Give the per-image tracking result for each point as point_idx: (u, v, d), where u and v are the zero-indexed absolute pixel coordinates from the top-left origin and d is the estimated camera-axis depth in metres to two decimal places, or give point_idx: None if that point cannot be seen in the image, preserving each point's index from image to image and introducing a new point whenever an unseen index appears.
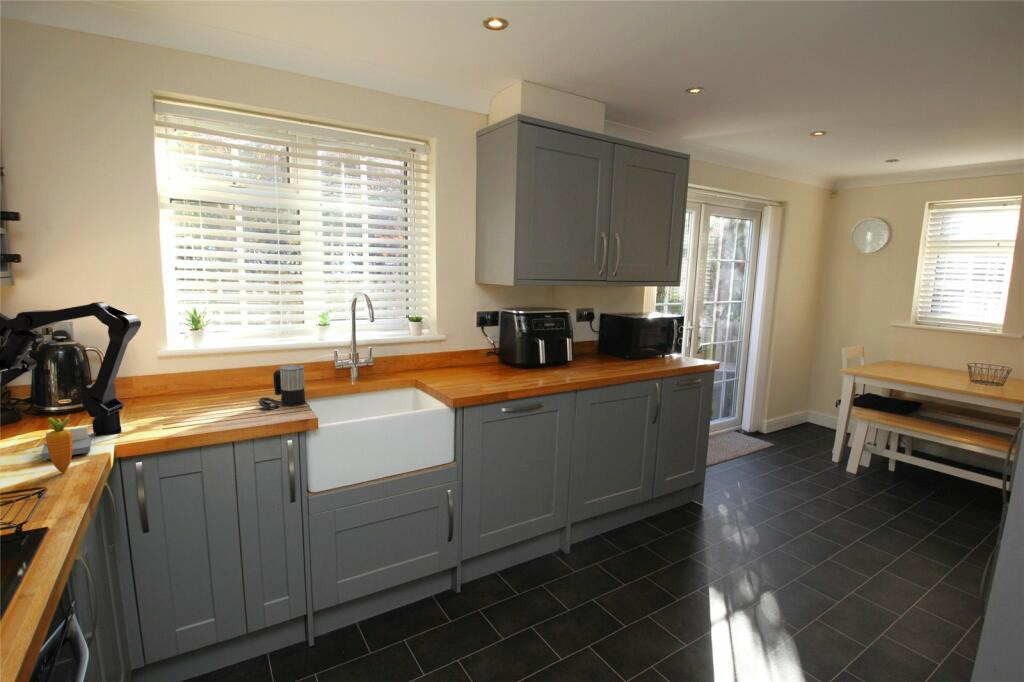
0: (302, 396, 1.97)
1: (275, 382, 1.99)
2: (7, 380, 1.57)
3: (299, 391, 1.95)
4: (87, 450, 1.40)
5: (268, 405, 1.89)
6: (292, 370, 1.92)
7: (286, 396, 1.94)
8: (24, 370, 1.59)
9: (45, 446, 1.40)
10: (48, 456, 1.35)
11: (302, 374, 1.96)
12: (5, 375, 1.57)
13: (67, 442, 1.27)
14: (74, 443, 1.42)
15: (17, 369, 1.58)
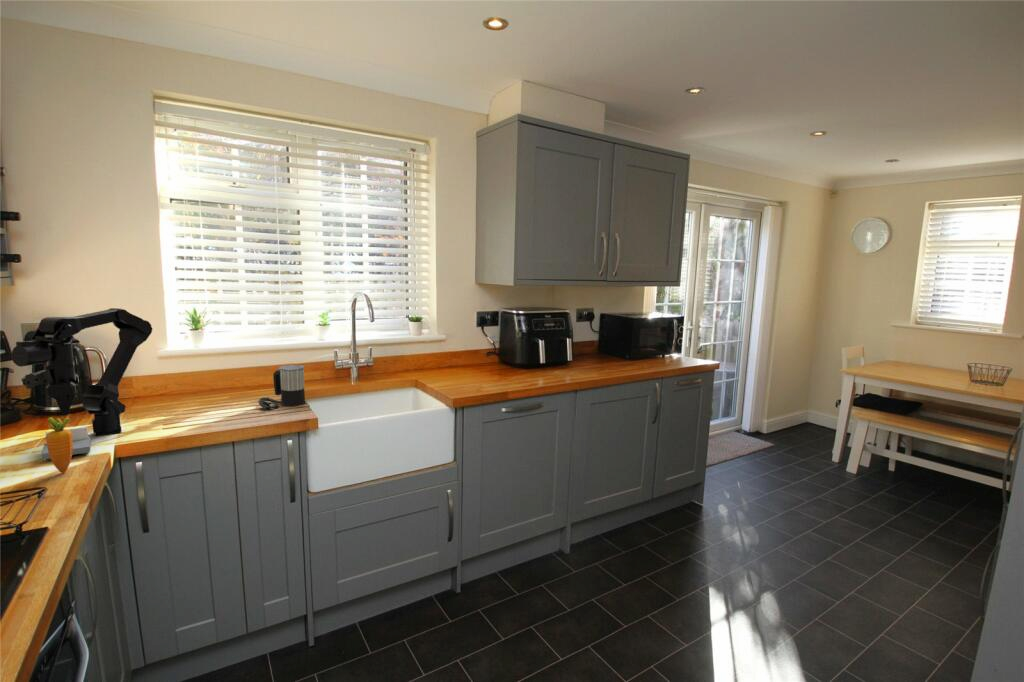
0: (302, 396, 1.97)
1: (275, 382, 1.99)
2: None
3: (299, 391, 1.95)
4: (87, 450, 1.40)
5: (268, 405, 1.88)
6: (292, 370, 1.92)
7: (286, 396, 1.93)
8: (75, 385, 1.51)
9: (45, 446, 1.40)
10: (48, 456, 1.35)
11: (302, 374, 1.96)
12: None
13: (67, 442, 1.27)
14: (74, 443, 1.42)
15: None
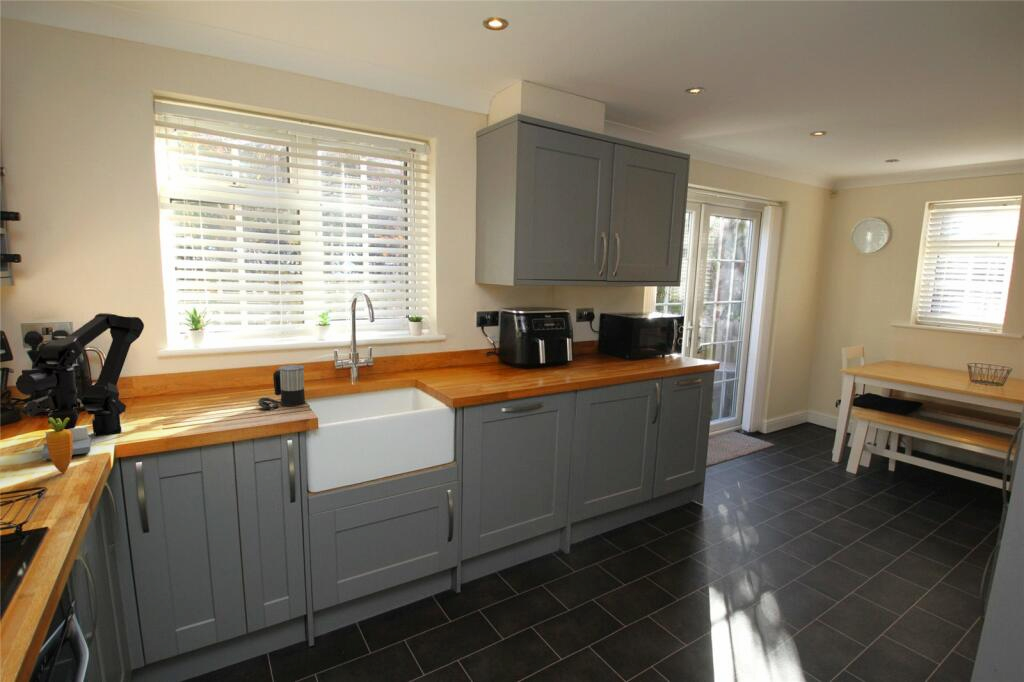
0: (302, 396, 1.96)
1: (275, 382, 1.99)
2: None
3: (299, 391, 1.95)
4: (87, 450, 1.40)
5: (267, 405, 1.88)
6: (292, 370, 1.92)
7: (285, 396, 1.93)
8: None
9: (45, 446, 1.40)
10: (48, 456, 1.35)
11: (302, 374, 1.96)
12: None
13: (67, 442, 1.27)
14: (74, 443, 1.42)
15: None
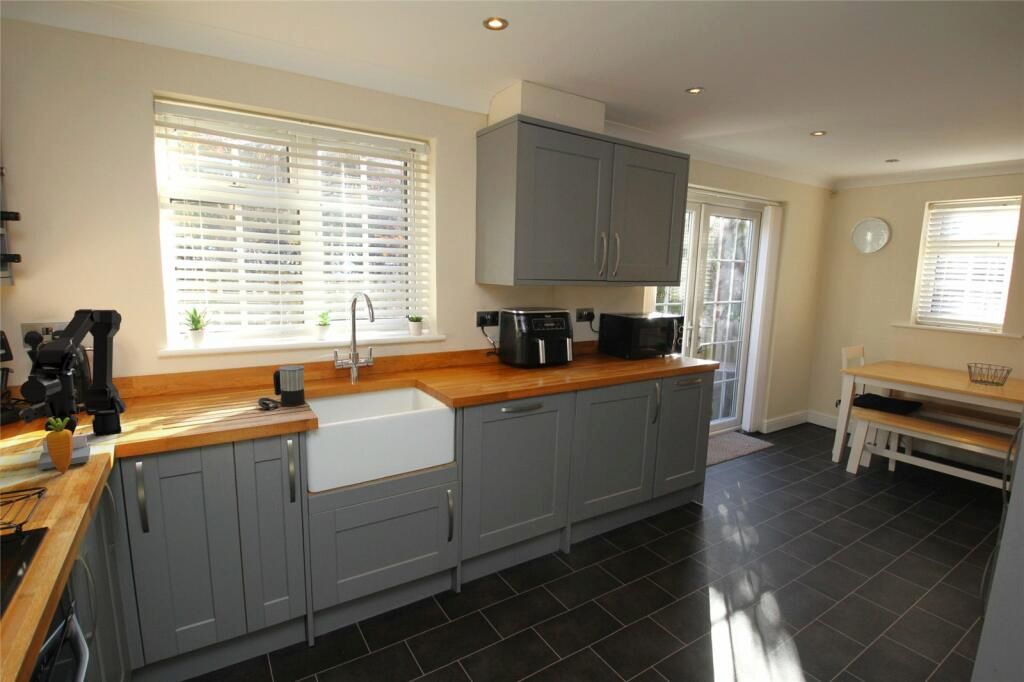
0: (302, 396, 1.96)
1: (275, 382, 1.99)
2: None
3: (298, 391, 1.95)
4: (86, 459, 1.34)
5: (267, 405, 1.88)
6: (291, 370, 1.92)
7: (285, 396, 1.93)
8: None
9: (42, 455, 1.33)
10: (45, 466, 1.29)
11: (302, 374, 1.96)
12: None
13: (67, 442, 1.27)
14: (72, 452, 1.36)
15: None
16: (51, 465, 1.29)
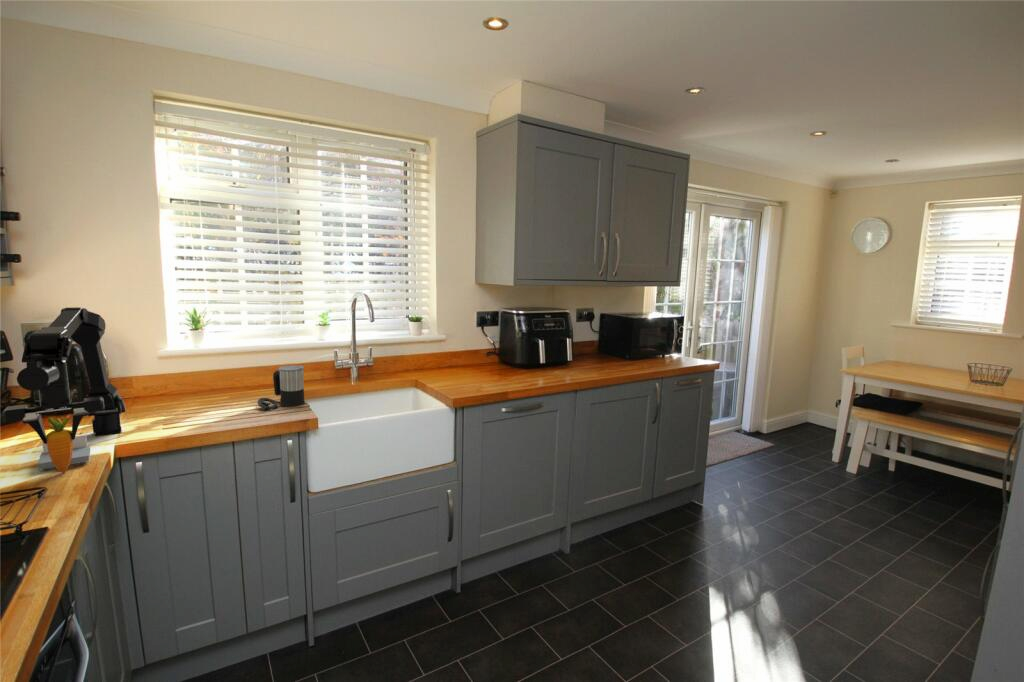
0: (301, 397, 1.96)
1: (275, 382, 1.98)
2: (72, 431, 1.28)
3: (298, 392, 1.94)
4: (86, 459, 1.34)
5: (267, 406, 1.88)
6: (291, 371, 1.92)
7: (285, 396, 1.93)
8: (77, 414, 1.27)
9: (42, 455, 1.33)
10: (45, 466, 1.29)
11: (301, 375, 1.95)
12: None
13: (67, 442, 1.27)
14: (72, 452, 1.36)
15: (73, 414, 1.28)
16: (51, 465, 1.29)
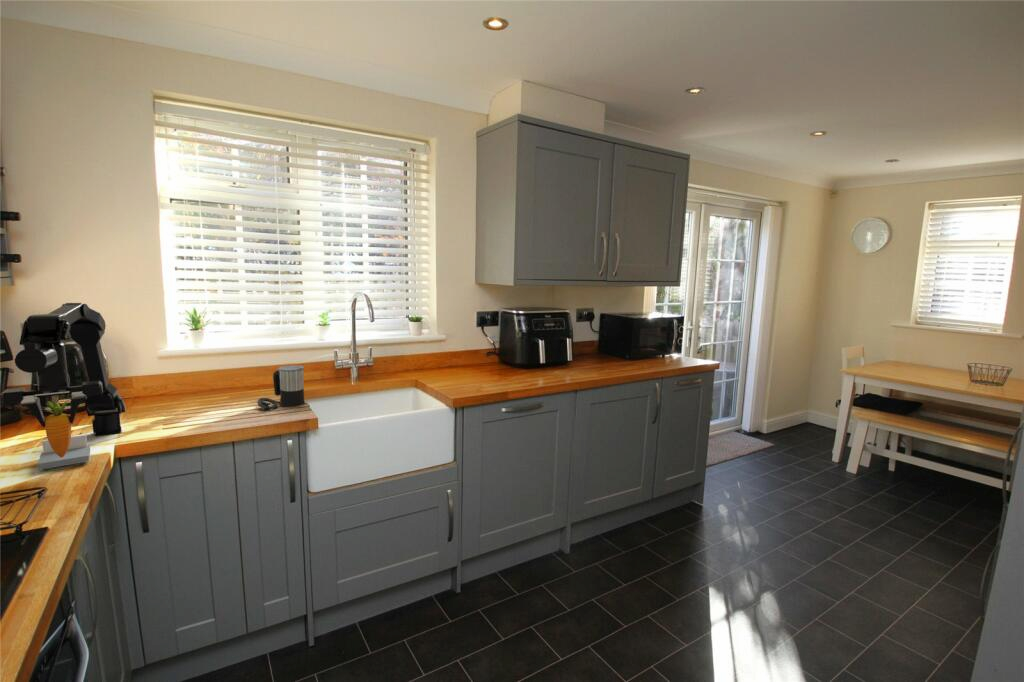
0: (301, 397, 1.96)
1: (275, 382, 1.98)
2: (70, 414, 1.28)
3: (298, 392, 1.94)
4: (86, 459, 1.34)
5: (266, 406, 1.88)
6: (291, 371, 1.91)
7: (285, 396, 1.93)
8: (75, 398, 1.26)
9: (42, 455, 1.33)
10: (45, 466, 1.29)
11: (301, 375, 1.95)
12: None
13: (65, 426, 1.26)
14: (72, 452, 1.36)
15: None
16: (51, 465, 1.29)
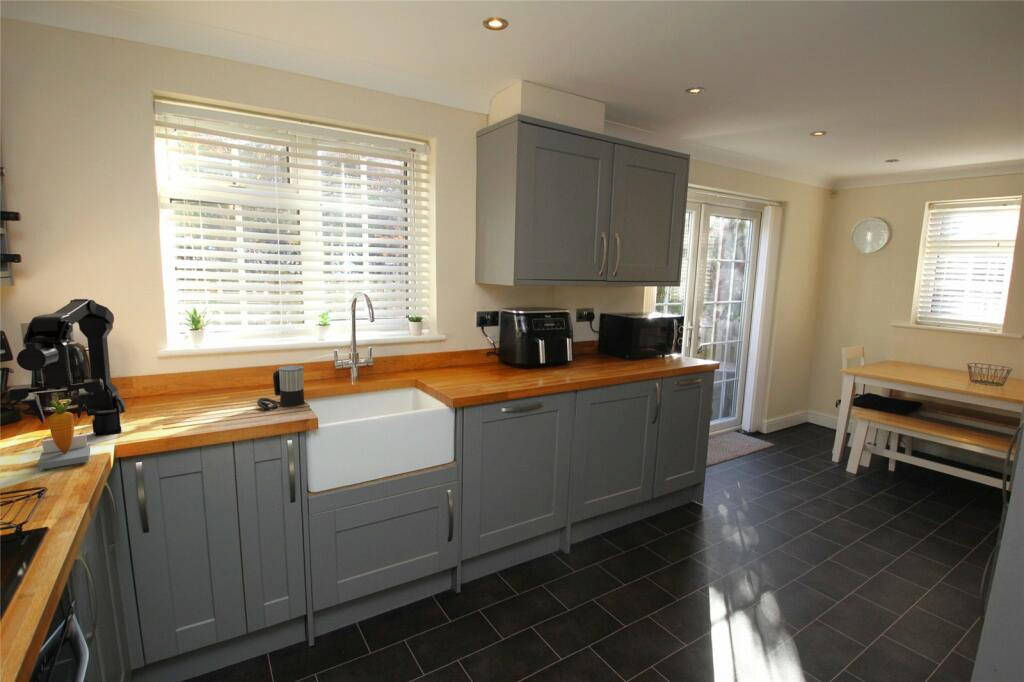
0: (301, 397, 1.96)
1: (275, 382, 1.98)
2: None
3: (298, 392, 1.94)
4: (86, 459, 1.34)
5: (266, 406, 1.88)
6: (291, 371, 1.91)
7: (284, 397, 1.93)
8: (82, 394, 1.34)
9: (42, 455, 1.33)
10: (45, 466, 1.29)
11: (301, 375, 1.95)
12: None
13: (69, 423, 1.34)
14: (72, 452, 1.36)
15: None
16: (51, 465, 1.29)
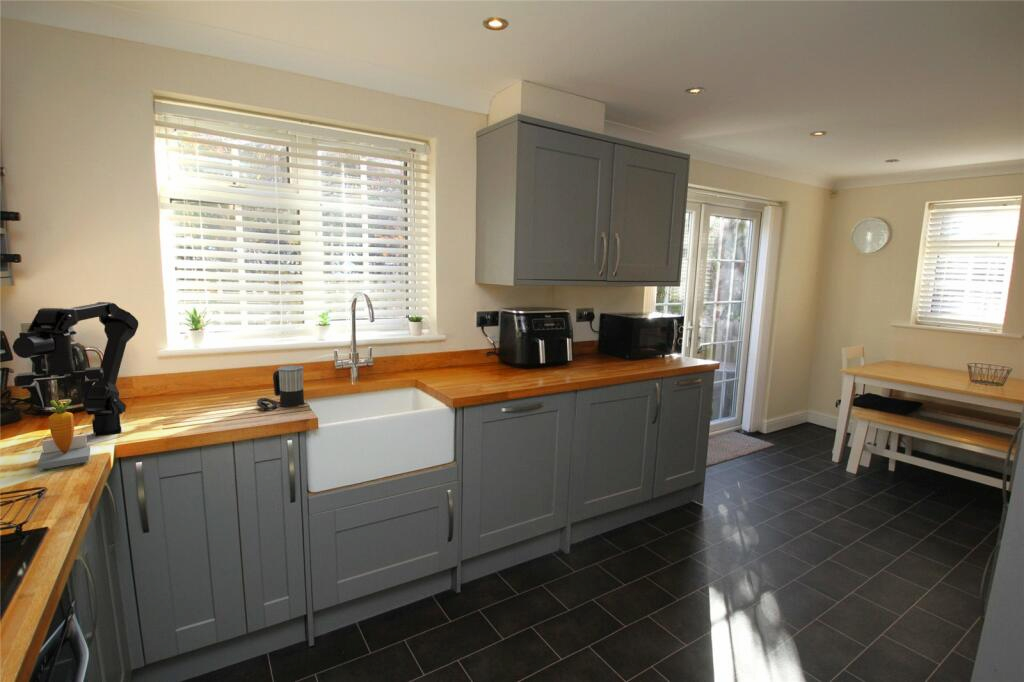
0: (301, 397, 1.95)
1: (275, 383, 1.98)
2: (83, 395, 1.46)
3: (297, 392, 1.94)
4: (86, 459, 1.34)
5: (266, 406, 1.87)
6: (290, 371, 1.91)
7: (284, 397, 1.92)
8: (88, 380, 1.44)
9: (42, 455, 1.33)
10: (45, 466, 1.29)
11: (301, 375, 1.94)
12: None
13: (69, 423, 1.34)
14: (72, 452, 1.36)
15: (85, 381, 1.45)
16: (51, 465, 1.29)
